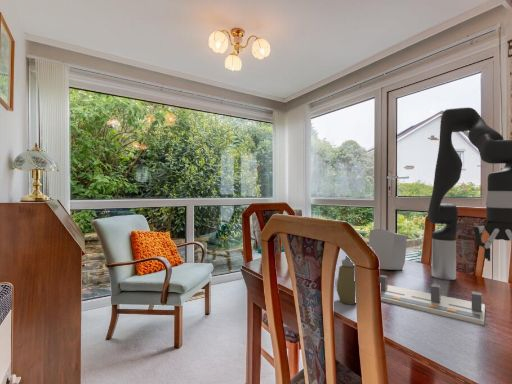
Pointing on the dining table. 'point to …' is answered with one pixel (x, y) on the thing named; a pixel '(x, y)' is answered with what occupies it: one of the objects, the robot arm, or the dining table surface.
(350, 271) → the squeeze bottle
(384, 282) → the slider
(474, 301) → the slider
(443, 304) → the switch panel
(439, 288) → the slider middle
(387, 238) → the electrical switch box
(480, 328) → the dining table surface
